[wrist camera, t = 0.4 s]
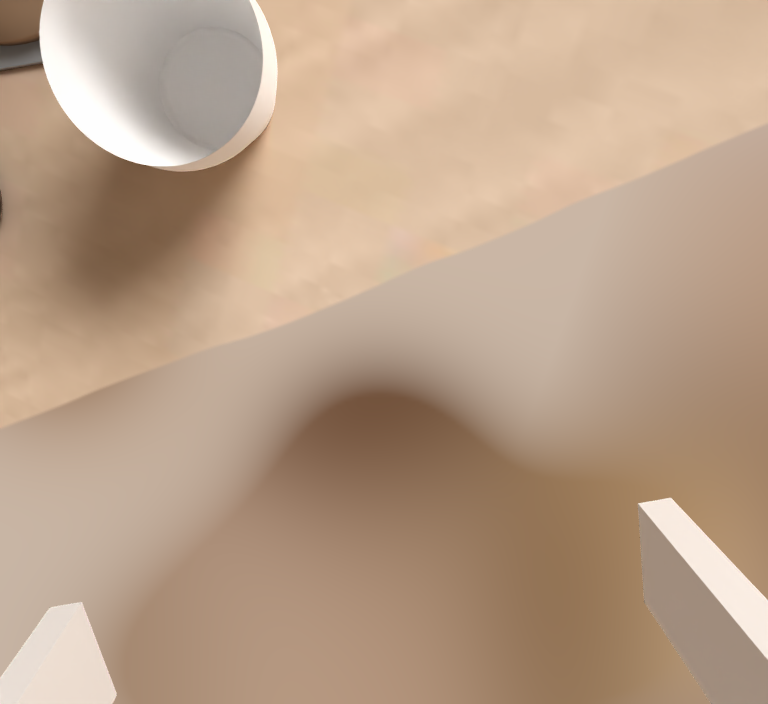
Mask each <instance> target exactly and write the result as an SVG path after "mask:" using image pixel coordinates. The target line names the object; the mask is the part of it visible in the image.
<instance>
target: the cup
mask: <svg viewBox="0 0 768 704" xmlns="http://www.w3.org/2000/svg"><path fill="white" fill-rule="evenodd" d="M39 35H40V49H41V56H42V61H43V66H44V69H45V72H46V76H47V79H48V81H49V84H50V86H51V89H52V91H53V93H54V95H55V97H56V99H57V101H58V102H59V104H60V105H61V107H62V109H63V110H64V112H65V113H66V114H67V116H68V117H69V118H70V120H71V121H72V122H73V123H74V124H75V125H76V126H77V127H78V129H79V130H80V131H82V132H83V133H84V134H85V135H86V136H87V137H88V138H89V139H91V140H92V141H93V142H94V143H96V144H97V145H99V146H100V147H102V148H103V149H105V150H106V151H108V152H110V153H112V154H114V155H116V156H118V157H120V158H123V159H125V160H128V161H131V162H135V163H139V164H143V165H148V166H151V167H154V168H158V169H163V170H168V171H184V172H186V171H197V170H202V169H206V168H210V167H213V166H216V165H218V164H221V163H223V162H225V161H227V160H229V159H231V158H233V157H234V156H236V155H237V154H238V153H240V152H241V151H242V150H244V149H245V148H246V147H247V146H248V145H249V144H250V143H252V142H253V141H254V140H255V139H256V138H257V137H258V136H259V135H260V134H261V133H262V132H263V131H264V129H265V128H266V127H267V125H268V123H269V121H270V119H271V117H272V114H273V111H274V107H275V100H276V89H277V58H276V51H275V46H274V41H273V38H272V35H271V31H270V28H269V26H268V23H267V21H266V18H265V16H264V14H263V12H262V10H261V8H260V7H259V5H258V4H257V2H256V0H44V2H43V6H42V11H41V17H40V30H39Z"/></svg>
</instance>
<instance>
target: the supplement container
mask: <svg viewBox="0 0 768 704" xmlns="http://www.w3.org/2000/svg"><path fill="white" fill-rule="evenodd" d="M1 214H2V196H1V191H0V218H1Z"/></svg>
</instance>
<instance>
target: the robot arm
mask: <svg viewBox="0 0 768 704" xmlns="http://www.w3.org/2000/svg"><path fill="white" fill-rule="evenodd" d="M638 511H639V527H640V542H641V558H642V573H643V590H644V602H645V604H646V605H647V607H648V609H649V610H650V612H651V613H652V615H653V616H654V618H655V619H656V621H657V622H658V624H659V625H660V627H661V628H662V630H663V631H664V633H665V634H666V636H667V638H668V639H669V641H670V642H671V643H672V645H673V647H674V648H675V650H676V651H677V653H678V654H679V656H680V657H681V659H682V660H683V662H684V663H685V665H686V666H687V668H688V669H689V671H690V673H691V674H692V676H693V677H694V679H695V680H696V682H697V683H698V685H699V686H700V688H701V689H702V691H703V692H704V694H705V695H706V697H707V698H708V700H709V701H710V703H711V704H768V600H767V599H766V598H765V597H764V596H763V595H762V594H761V593H760V592H759V591H758V590H757V588H756V587H754V585H753V584H752V583H751V582H750V581H749V580H748V579H747V578H746V577H745V576H744V575H743V574H742V573H741V572H740V571H739V569H738V568H737V567H736V566H735V565H734V564H733V563H732V562H731V561H730V560H729V559H728V558H727V557H726V556H725V555H724V554H723V553H722V551H721V550H720V549H719V548H718V547H717V546H716V545H715V544H714V543H713V542H712V541H711V540H710V539H709V538H708V537H707V536H706V535H705V533H703V531H702V530H701V529H700V528H699V527H698V526H697V525H696V524H695V523H694V522H693V521H692V520H691V519H690V518H689V516H688V515H687V514H686V513H685V512H684V511H683V510H682V509H681V508H680V507H679V506H678V505H677V504H676V503H675V502H674V501H673V500H672V498H667V499H661V500H656V501H650V502H644V503H639V504H638ZM116 695H117V693H116V691H115V688H114V685H113V683H112V680H111V678H110V675H109V672H108V670H107V667H106V664H105V662H104V659H103V657H102V654H101V652H100V649H99V646H98V643H97V641H96V638H95V636H94V633H93V630H92V628H91V625H90V623H89V620H88V617H87V615H86V612H85V609H84V607H83V604H82V602H78V603H72V604H67V605H61V606H56V607H50V608H49V609H48V611H47V612H46V613H45V615H44V617H43V618H42V619H41V621H40V622H39V623H38V625H37V626H36V628H35V629H34V631H33V632H32V633H31V635H30V636H29V638H28V639H27V641H26V642H25V643H24V645H23V646H22V648H21V649H20V650H19V652H18V654H17V655H16V656H15V658H14V659H13V661H12V662H11V663H10V665H9V666H8V668H7V669H6V670H5V672H4V673H3V675H2V676H1V678H0V704H113V702H114V699H115V697H116Z"/></svg>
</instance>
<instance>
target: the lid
mask: <svg viewBox="0 0 768 704" xmlns="http://www.w3.org/2000/svg"><path fill="white" fill-rule="evenodd" d="M43 2H44V0H0V45H3V46H12V45H22V44H27V43H31V42H35V41H38V40H40V35H39V30H40V17H41V11H42V6H43Z"/></svg>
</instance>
